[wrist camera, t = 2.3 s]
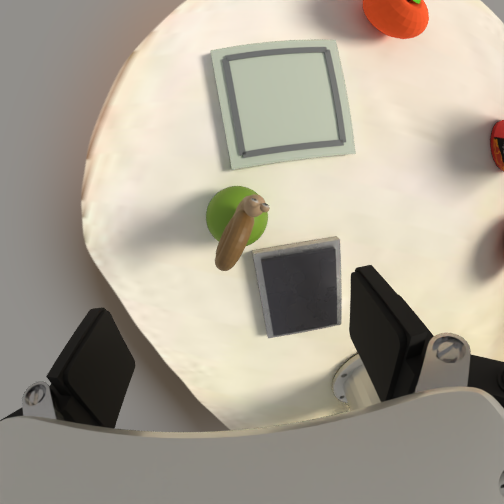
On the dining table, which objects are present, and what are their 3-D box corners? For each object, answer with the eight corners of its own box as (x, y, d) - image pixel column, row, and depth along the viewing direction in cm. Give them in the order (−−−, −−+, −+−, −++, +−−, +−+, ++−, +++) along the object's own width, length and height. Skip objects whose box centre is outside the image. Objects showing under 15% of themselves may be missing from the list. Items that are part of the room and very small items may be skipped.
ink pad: (338, 319, 33) (342, 327, 31) (267, 333, 33) (268, 341, 32) (336, 236, 29) (341, 241, 27) (252, 250, 29) (253, 256, 27)
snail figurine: (278, 186, 26) (305, 221, 15) (251, 243, 29) (257, 311, 17) (226, 163, 25) (214, 181, 14) (201, 223, 28) (175, 280, 16)
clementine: (368, -18, 17) (395, -44, 10) (416, 17, 18) (450, 0, 12) (342, 19, 19) (369, -9, 13) (395, 57, 21) (433, 42, 14)
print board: (352, 153, 25) (356, 153, 24) (232, 169, 26) (231, 170, 25) (333, 42, 21) (335, 39, 20) (211, 52, 21) (210, 50, 20)
